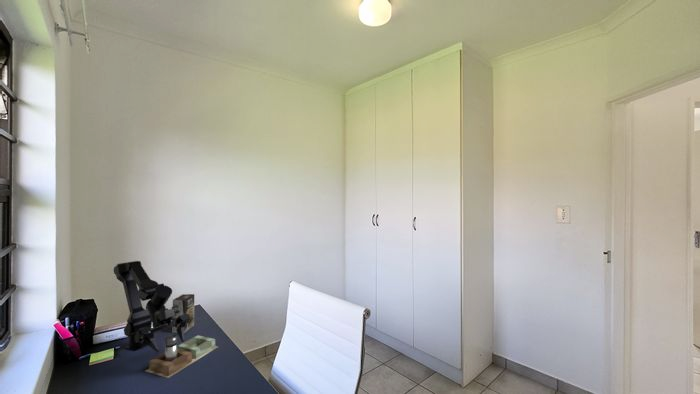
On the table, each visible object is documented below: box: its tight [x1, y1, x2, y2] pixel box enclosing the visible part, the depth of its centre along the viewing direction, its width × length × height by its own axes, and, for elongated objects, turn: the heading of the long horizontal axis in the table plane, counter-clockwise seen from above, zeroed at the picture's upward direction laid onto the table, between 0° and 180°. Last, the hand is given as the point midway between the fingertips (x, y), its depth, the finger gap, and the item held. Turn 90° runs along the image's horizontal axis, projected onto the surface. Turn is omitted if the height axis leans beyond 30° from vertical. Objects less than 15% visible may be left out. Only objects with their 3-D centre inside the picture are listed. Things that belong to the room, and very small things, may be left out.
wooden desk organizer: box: [145, 335, 219, 379], centre depth 121 cm, size 12×24×4 cm, turn 160°
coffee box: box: [171, 293, 195, 334], centre depth 149 cm, size 9×6×16 cm
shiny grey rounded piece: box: [164, 334, 178, 362], centre depth 115 cm, size 4×4×11 cm
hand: (171, 346), depth 115 cm, fingers open, 9 cm apart
